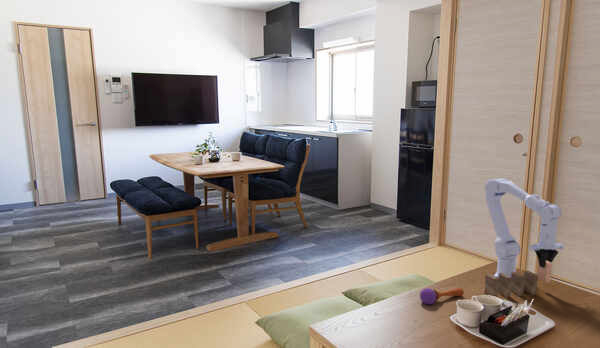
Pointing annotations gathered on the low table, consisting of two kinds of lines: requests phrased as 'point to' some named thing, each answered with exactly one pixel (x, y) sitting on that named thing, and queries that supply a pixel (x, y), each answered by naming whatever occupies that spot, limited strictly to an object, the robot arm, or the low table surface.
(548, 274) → the terracotta domino
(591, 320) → the low table surface
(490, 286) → the walnut domino
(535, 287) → the walnut domino
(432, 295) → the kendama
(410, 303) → the low table surface
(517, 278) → the walnut domino
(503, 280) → the walnut domino
